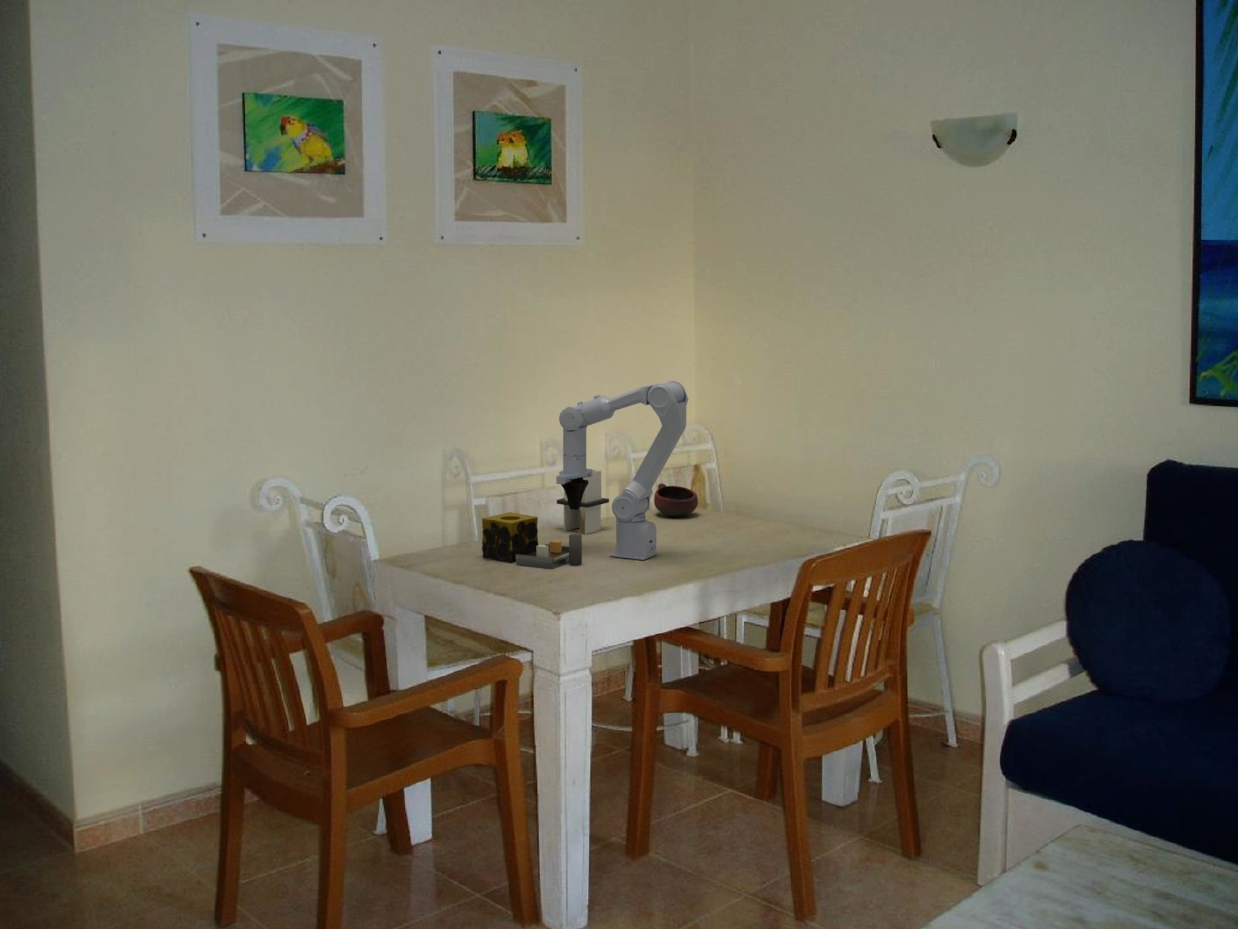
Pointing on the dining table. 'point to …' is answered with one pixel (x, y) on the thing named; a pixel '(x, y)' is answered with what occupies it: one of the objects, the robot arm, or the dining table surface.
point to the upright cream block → (542, 550)
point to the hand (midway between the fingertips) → (574, 509)
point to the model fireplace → (585, 507)
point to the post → (575, 549)
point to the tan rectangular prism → (555, 546)
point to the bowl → (675, 500)
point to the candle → (509, 536)
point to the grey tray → (544, 559)
